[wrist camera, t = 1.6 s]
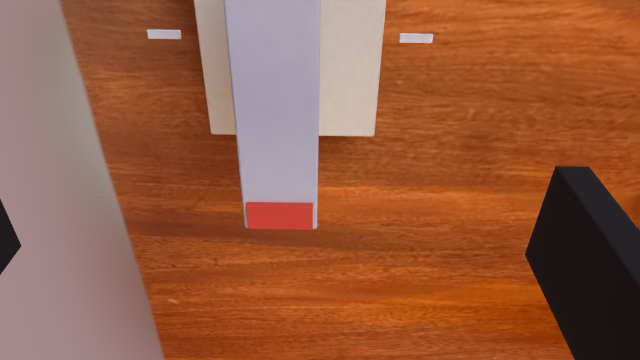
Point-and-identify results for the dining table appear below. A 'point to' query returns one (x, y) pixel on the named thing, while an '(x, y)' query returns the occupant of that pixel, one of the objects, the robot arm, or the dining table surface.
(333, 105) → the tap base
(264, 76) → the grey lever handle
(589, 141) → the dining table surface
